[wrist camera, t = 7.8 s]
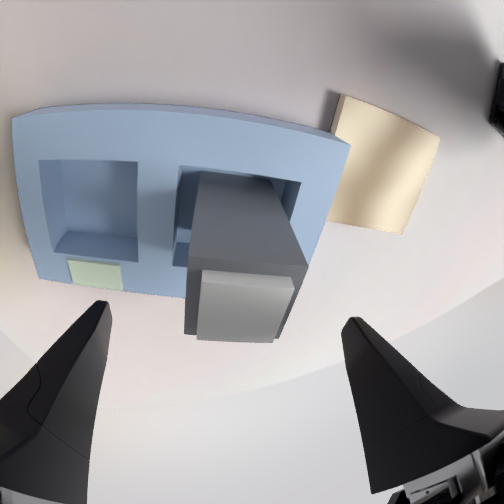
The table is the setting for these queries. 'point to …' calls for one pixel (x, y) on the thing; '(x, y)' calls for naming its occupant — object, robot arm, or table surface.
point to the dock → (154, 185)
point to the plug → (240, 261)
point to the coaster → (379, 166)
